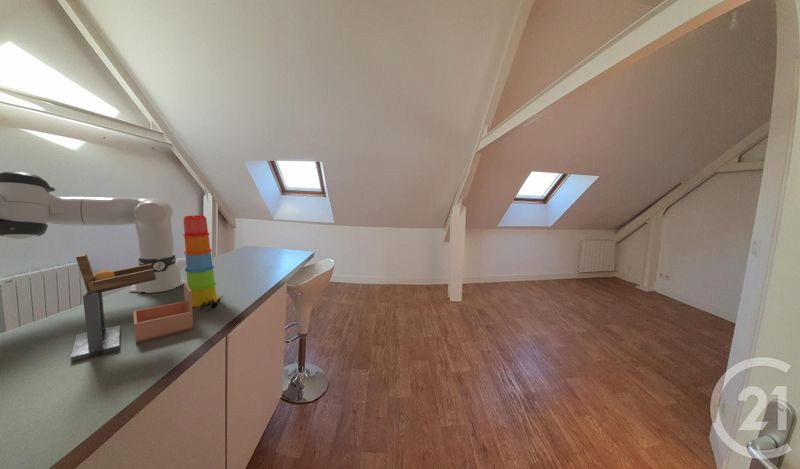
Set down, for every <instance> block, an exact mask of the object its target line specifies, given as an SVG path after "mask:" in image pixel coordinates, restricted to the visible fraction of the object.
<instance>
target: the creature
mask: <svg viewBox="0 0 800 469" xmlns="http://www.w3.org/2000/svg"><path fill="white" fill-rule="evenodd" d="M223 297H224V296H221V297H219V298H218V300H217V302H214V299H212V300H213V301H212V300H210V301H209V302H207V305H206V302H203V305H204V306H203V305H200V307H202V308H201V309H199V310H197V311H196V313H198V312H201V311H203V312H207V313H208V312H210V310H211V309H212V310H215V309H217V307H218V306H219V304H220V301H221V299H222V298H223ZM206 299H207V298H206ZM211 302H212V303H211ZM205 305H206V306H205ZM205 307H206V308H208V307H209V308H208V310H203V309H204V308H205Z"/></svg>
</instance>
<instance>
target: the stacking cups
mask: <svg viewBox="0 0 800 469" xmlns="http://www.w3.org/2000/svg"><path fill="white" fill-rule="evenodd" d="M207 221H208V220H207V217H206V216H205V215H201V214H200V215H199V214H198V215H185V216H184V218H183V230H184V233H183V237H184V247H185V251H184V252H183V253H184V254H185V266H186V268H185V269H184V271H185V272H186V283H187V284H188V286H189V288H190V289H191V291H192V308H198V307H199V308H201V306H200V305H203V302H206V305H207V302H209V301H210V300H212V299H214V302H215V303H217V302H218V300H219V297H218V295H217V293H216V291H217V290H216V285H217V281H216V280H215V275H214V269H215V266H214V265H213V260H212V259H213V258H212V251H213V249H212V248H211V243H210V237H209V236H210V232H209V231H208V222H207ZM206 298H207V299H206ZM212 301H213V300H212ZM211 303H212V302H211ZM206 305H205V306H204V305H203V306H204V307H206ZM203 306H202V307H203Z"/></svg>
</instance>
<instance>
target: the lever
mask: <svg viewBox="0 0 800 469" xmlns="http://www.w3.org/2000/svg"><path fill="white" fill-rule="evenodd" d="M75 259H76V262H77V265H78V267H79V271H80V274H81V276H82V279H83V282H84V285H85V288H86V293H93V292H98V293H101V292H102V293H103V292H104V293H105V292H110V291H115V290H117V289H121V288H126V287H132V286H133V285H135V284H139V283H144V282H148V281H152V280H156V277H155V273H154V269H153V267H152V264H147V265H142V266H139V265H138V266H137V265H136V266H132V267H128V268H122V269H117V270H113V271H112V270H111V272H113V273H114V274H115V277H112V278H107V279H103V280H98V281H94V276H95V275H96V274H94V273H93V271H92V266H91V263H90V260H89V258H88V255H87V253H81V254H77V255H76V256H75Z"/></svg>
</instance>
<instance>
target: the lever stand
mask: <svg viewBox="0 0 800 469" xmlns="http://www.w3.org/2000/svg"><path fill="white" fill-rule="evenodd" d="M82 299H83V300H82V301H83V310H84V320H85V329H86V332H81V333H77V334H76V338H75V341H74V345H73V348H72V351H71V354H70V363H71V364H72V363H75V362H80V361H83V360H87V359H92V358H96V357H99V356H103V355H107V354H111V353H115V352H116V353H117V352H119V351H120V350H121V344H120V343H121V325H114V326H110V327H106V322H105V312H104V309H105V308H104V299H103V292H101V293H98V292H93V293H87V292H86V293H83V294H82Z"/></svg>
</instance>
